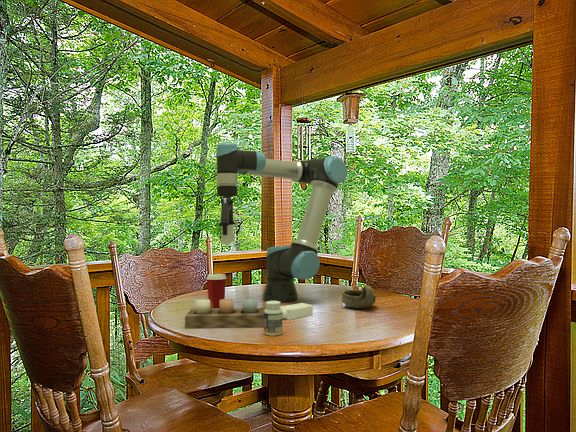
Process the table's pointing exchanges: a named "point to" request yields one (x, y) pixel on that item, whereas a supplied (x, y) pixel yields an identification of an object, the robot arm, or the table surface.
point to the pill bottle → (273, 318)
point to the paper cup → (216, 289)
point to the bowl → (359, 297)
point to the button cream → (203, 306)
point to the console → (225, 319)
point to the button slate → (249, 305)
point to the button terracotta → (226, 306)
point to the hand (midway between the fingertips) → (227, 243)
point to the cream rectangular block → (296, 311)
